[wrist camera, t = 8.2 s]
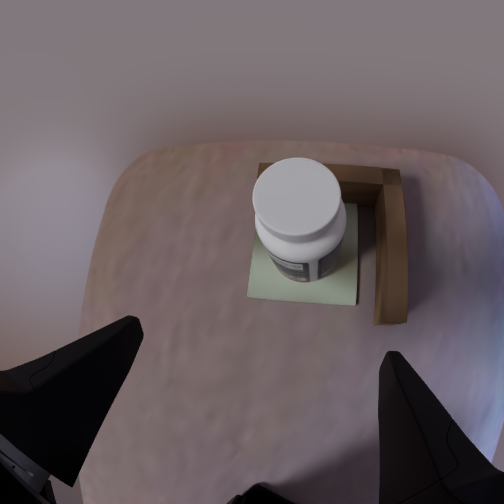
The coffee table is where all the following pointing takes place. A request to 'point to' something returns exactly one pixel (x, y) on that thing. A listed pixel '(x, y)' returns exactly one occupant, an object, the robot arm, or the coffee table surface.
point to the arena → (350, 249)
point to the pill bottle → (300, 218)
